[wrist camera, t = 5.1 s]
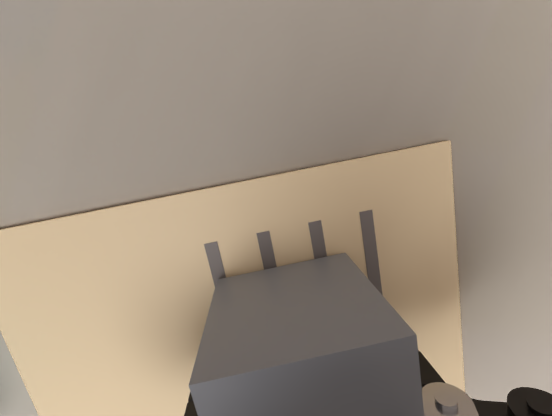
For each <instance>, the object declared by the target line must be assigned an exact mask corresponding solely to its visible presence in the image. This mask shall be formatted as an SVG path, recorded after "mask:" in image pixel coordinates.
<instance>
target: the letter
mask: <svg viewBox="0 0 552 416" xmlns="http://www.w3.org/2000/svg"><path fill="white" fill-rule="evenodd" d="M341 253H346V254H347V255H348V256H349V257H350V258H351V260H352V261H353V262H354V263H355V264H356V265H357V267H358V268H359V269H360V270H361V271H362V272H363V273H364V275H365V276H366V277H367V278H368V279H369V280H370V282H371V283H372V284H373V285H374V286H375V287H376V288H377V290H378V291H379V292H380V293H381V294H382V295H383V297H384V298H385V299H386V300H387V301H388V302H389V303H390V305H391V306H392V307H393V308H394V309H395V310H396V312H397V313H398V314H399V315H400V316H401V317H402V318H403V320H404V321H405V322H406V323H407V324H408V325H409V327H410V328H411V329H412V330H413V331H414V332H415V333H416V335H417V344H418V350H419V351H420V352H421V353H422V354H423V356H424V357H425V358H426V359H427V360H428V362H429V363H430V364H431V365H432V367H433V368H434V369H435V370H436V372H437V373H438V374H439V375H440V376H441V378H442V379H443V380H444V381H445V383H447V384H451V385H453V386H456V387H458V388H459V389H461V390H462V391H464V392H465V383H464V365H463V348H462V330H461V313H460V295H459V278H458V260H457V243H456V225H455V208H454V190H453V173H452V155H451V140H450V141H441V142H436V143H431V144H426V145H421V146H416V147H411V148H406V149H401V150H396V151H391V152H386V153H381V154H376V155H371V156H366V157H361V158H356V159H351V160H346V161H341V162H336V163H331V164H326V165H321V166H316V167H311V168H306V169H301V170H296V171H291V172H285V173H280V174H275V175H270V176H265V177H260V178H255V179H250V180H245V181H240V182H235V183H230V184H225V185H220V186H215V187H210V188H205V189H200V190H195V191H190V192H185V193H180V194H175V195H170V196H165V197H160V198H155V199H150V200H145V201H140V202H135V203H130V204H125V205H120V206H115V207H110V208H105V209H100V210H95V211H90V212H85V213H79V214H74V215H69V216H64V217H59V218H54V219H49V220H44V221H39V222H34V223H29V224H24V225H19V226H14V227H9V228H4V229H0V331H1V334H2V336H3V338H4V340H5V342H6V345H7V347H8V349H9V351H10V353H11V356H12V358H13V360H14V362H15V364H16V367H17V369H18V371H19V373H20V376H21V378H22V380H23V382H24V384H25V387H26V389H27V391H28V393H29V395H30V398H31V400H32V402H33V404H34V406H35V409H36V411H37V413H38V415H39V416H184V414H185V410H186V406H187V403H188V398H189V394H190V389H189V382H190V378H191V375H192V371H193V367H194V364H195V360H196V356H197V352H198V349H199V345H200V341H201V338H202V334H203V330H204V327H205V323H206V319H207V316H208V312H209V308H210V305H211V301H212V297H213V294H214V290H215V286H216V283H217V279H222V278H227V277H232V276H236V275H241V274H246V273H251V272H255V271H260V270H265V269H270V268H274V267H279V266H284V265H289V264H293V263H298V262H303V261H308V260H312V259H317V258H322V257H327V256H331V255H336V254H341Z"/></svg>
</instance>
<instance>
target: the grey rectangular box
mask: <svg viewBox="0 0 552 416" xmlns="http://www.w3.org/2000/svg"><path fill="white" fill-rule="evenodd" d="M189 389H190V392H191V395H192V398H193V402H194V405H195V408H196V411H197V415H198V416H424V407H423V397H422V386H421V376H420V365H419V355H418V344H417V335H416V333H415V332H414V331H413V330H412V329H411V328H410V327H409V325H408V324H407V323H406V322H405V321H404V320H403V318H402V317H401V316H400V315H399V314H398V313H397V312H396V310H395V309H394V308H393V307H392V306H391V305H390V303H389V302H388V301H387V300H386V299H385V298H384V297H383V295H382V294H381V293H380V292H379V291H378V290H377V288H376V287H375V286H374V285H373V284H372V283H371V282H370V280H369V279H368V278H367V277H366V276H365V275H364V273H363V272H362V271H361V270H360V269H359V268H358V267H357V265H356V264H355V263H354V262H353V261H352V260H351V258H350V257H349V256H348V255H347V254H346V253H341V254H336V255H331V256H327V257H322V258H317V259H312V260H308V261H303V262H298V263H293V264H289V265H284V266H279V267H274V268H270V269H265V270H260V271H255V272H251V273H246V274H241V275H236V276H232V277H227V278H222V279H217V283H216V286H215V290H214V294H213V297H212V301H211V305H210V308H209V312H208V316H207V319H206V323H205V327H204V330H203V334H202V338H201V341H200V345H199V349H198V352H197V356H196V360H195V364H194V367H193V371H192V375H191V378H190V382H189Z"/></svg>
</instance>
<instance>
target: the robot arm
mask: <svg viewBox="0 0 552 416" xmlns="http://www.w3.org/2000/svg"><path fill="white" fill-rule="evenodd" d="M418 355H419V365H420V376H421V386H422V397H423V407H424V416H552V394H550V393H548V392H545V391H542V390H539V389H535V388H529V387H520V388H516V389H513V390H512V391H510V392H509V394H508V396H507V402H493V401H481V400H475V399H471V398H470V397H469V396H468V395H467V394H466V393H465V392H464V391H462V390H461V389H459V388H458V387H456V386H453V385H451V384H447V383H445V381H444V380H443V379H442V378H441V376H440V375H439V374H438V373H437V372H436V370H435V369H434V368H433V367H432V365H431V364H430V363H429V362H428V360H427V359H426V358H425V357H424V356H423V354H422V353H421V352H420V351H419V350H418ZM184 416H198V415H197V411H196V408H195V405H194V402H193V398H192V395H191V392H190V394H189V398H188V403H187V406H186V410H185V414H184Z"/></svg>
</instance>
